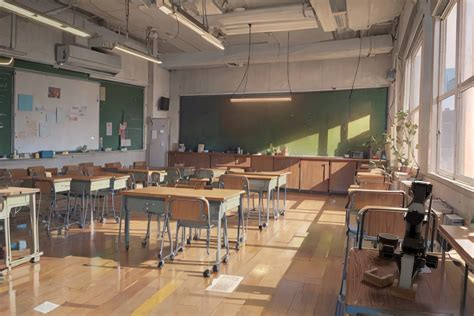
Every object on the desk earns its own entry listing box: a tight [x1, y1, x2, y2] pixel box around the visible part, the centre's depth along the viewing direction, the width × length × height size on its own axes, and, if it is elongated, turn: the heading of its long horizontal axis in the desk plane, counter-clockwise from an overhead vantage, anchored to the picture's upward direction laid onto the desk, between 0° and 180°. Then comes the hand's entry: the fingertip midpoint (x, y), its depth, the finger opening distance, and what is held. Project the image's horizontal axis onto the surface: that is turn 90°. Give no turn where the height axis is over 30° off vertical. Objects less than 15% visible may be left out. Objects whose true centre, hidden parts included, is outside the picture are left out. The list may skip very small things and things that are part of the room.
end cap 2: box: [390, 278, 418, 302], centre depth 138 cm, size 8×8×4 cm
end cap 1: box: [362, 267, 394, 288], centre depth 148 cm, size 8×8×4 cm
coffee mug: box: [376, 232, 400, 261], centre depth 178 cm, size 12×9×10 cm
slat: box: [398, 254, 414, 290], centre depth 138 cm, size 4×4×13 cm
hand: (405, 277), depth 137 cm, fingers closed on slat, 3 cm apart
